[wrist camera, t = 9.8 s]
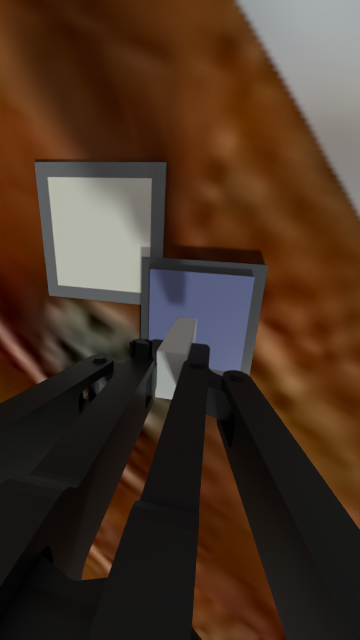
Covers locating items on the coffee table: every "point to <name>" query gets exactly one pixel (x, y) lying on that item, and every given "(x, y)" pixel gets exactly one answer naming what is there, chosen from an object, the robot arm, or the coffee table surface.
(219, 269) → the ink pad
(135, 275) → the grey picture frame
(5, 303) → the coffee table surface
